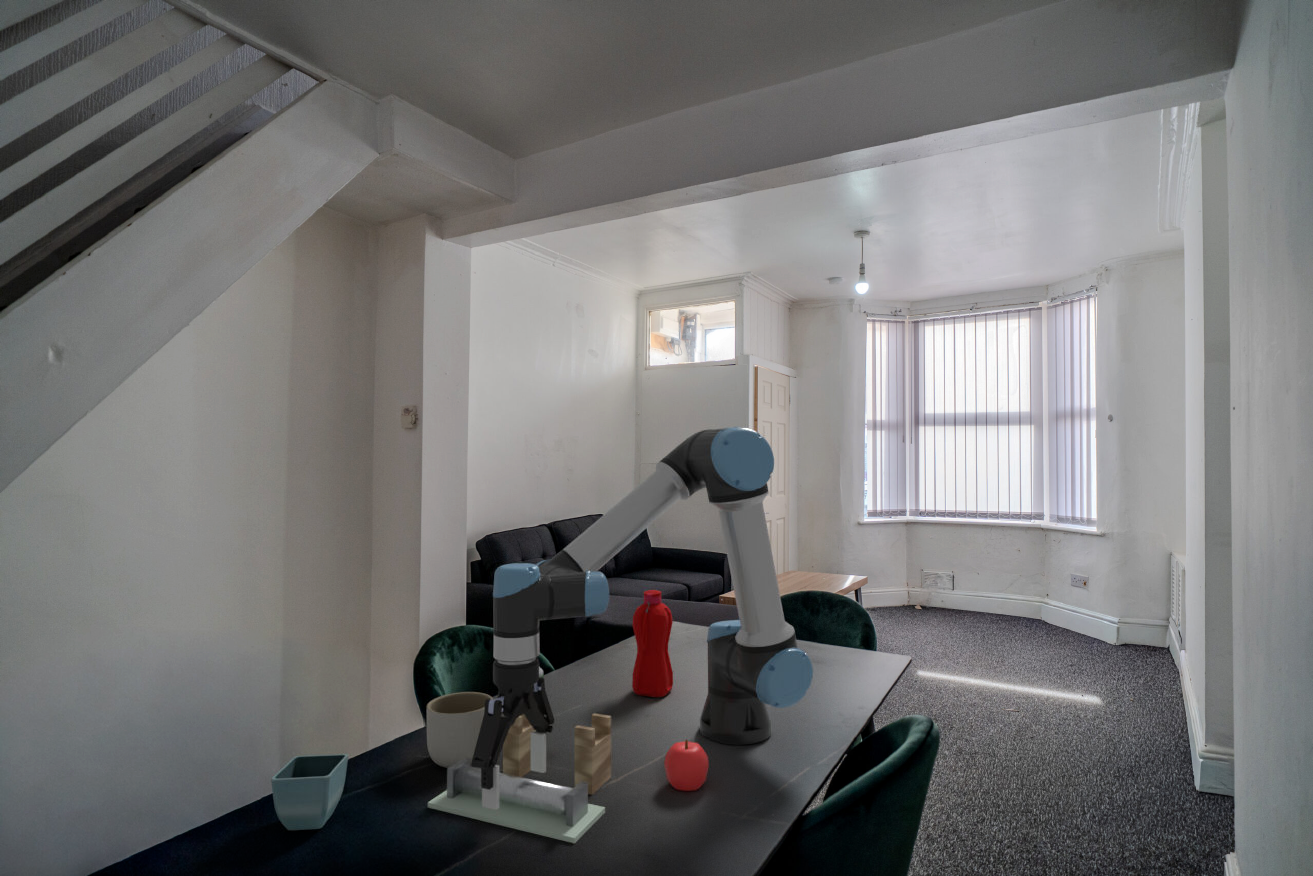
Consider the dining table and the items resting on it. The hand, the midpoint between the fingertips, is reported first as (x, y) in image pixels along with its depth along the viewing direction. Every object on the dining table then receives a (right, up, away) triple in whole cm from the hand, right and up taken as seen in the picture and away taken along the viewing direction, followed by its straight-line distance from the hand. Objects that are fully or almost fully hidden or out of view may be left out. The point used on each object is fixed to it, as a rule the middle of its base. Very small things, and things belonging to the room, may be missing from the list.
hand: (515, 788), depth 115 cm
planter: (-15, -4, +19) cm, 24 cm away
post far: (-2, -4, +15) cm, 15 cm away
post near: (+12, -4, +9) cm, 15 cm away
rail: (0, -2, 0) cm, 2 cm away
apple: (+29, -4, +8) cm, 30 cm away
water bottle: (+22, -5, +57) cm, 61 cm away
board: (0, -4, 0) cm, 4 cm away
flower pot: (-32, -4, -4) cm, 32 cm away
